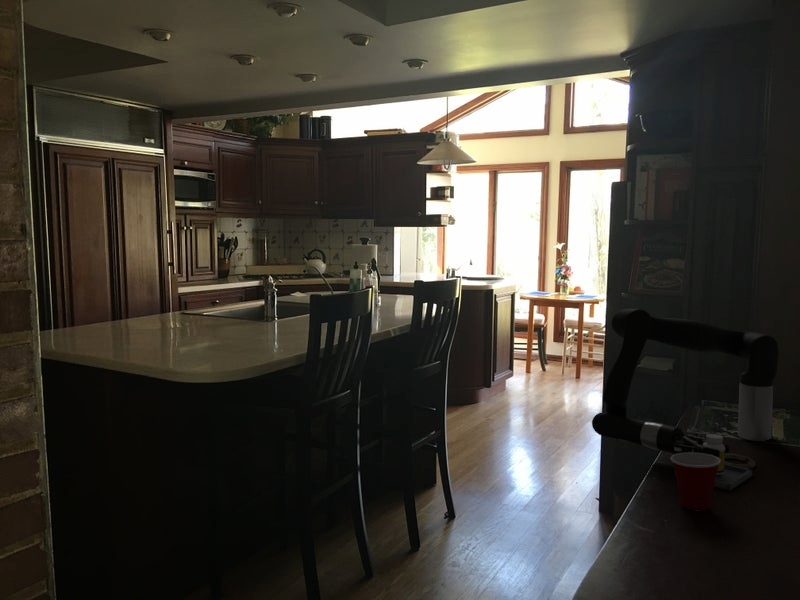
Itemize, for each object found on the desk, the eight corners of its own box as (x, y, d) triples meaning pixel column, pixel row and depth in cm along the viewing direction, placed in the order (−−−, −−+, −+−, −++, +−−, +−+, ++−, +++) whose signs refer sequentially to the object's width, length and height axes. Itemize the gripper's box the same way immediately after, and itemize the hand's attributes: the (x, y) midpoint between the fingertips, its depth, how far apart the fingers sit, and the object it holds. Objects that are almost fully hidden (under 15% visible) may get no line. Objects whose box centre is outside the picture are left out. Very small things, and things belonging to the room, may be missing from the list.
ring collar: (723, 455, 185) (723, 451, 184) (759, 463, 177) (759, 459, 177) (709, 463, 178) (709, 459, 178) (745, 472, 171) (745, 467, 171)
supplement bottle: (728, 475, 166) (729, 439, 165) (707, 475, 166) (708, 439, 165) (718, 468, 171) (719, 432, 170) (698, 468, 171) (699, 432, 170)
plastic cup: (679, 493, 157) (681, 446, 156) (726, 506, 150) (728, 456, 149) (661, 506, 150) (662, 457, 149) (709, 520, 142) (710, 468, 141)
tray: (698, 462, 179) (698, 457, 179) (752, 475, 168) (752, 470, 168) (674, 476, 169) (674, 470, 169) (729, 491, 158) (729, 485, 158)
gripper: (649, 429, 174) (713, 444, 161) (673, 419, 183) (735, 432, 170) (648, 456, 174) (712, 472, 162) (672, 444, 184) (734, 459, 171)
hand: (723, 451), depth 166 cm, fingers closed on supplement bottle, 5 cm apart
